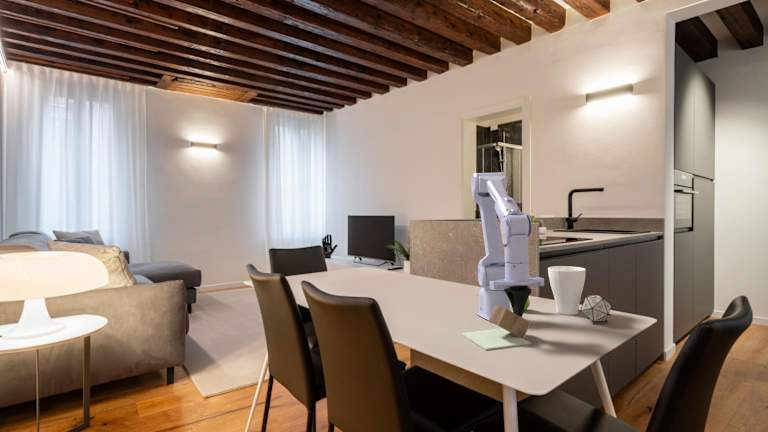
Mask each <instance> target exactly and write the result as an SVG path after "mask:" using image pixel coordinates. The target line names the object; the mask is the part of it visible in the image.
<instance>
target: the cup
mask: <svg viewBox="0 0 768 432" xmlns="http://www.w3.org/2000/svg"><path fill="white" fill-rule="evenodd" d="M586 270H587V269H586V268H584V267H579V266H570V265H555V266H549V267H547V273H548V278H549V283H550V288H551V290H552V294H553V297H554V298H553V299H554V303H555V309H556V312H557V313H558V314H561V315H566V316H567V315H568V316H576V315H578V314H579V312H578V310H580V303H581V297H582V293H583V290H584V285H585V281H586Z"/></svg>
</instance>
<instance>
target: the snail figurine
mask: <svg viewBox="0 0 768 432" xmlns="http://www.w3.org/2000/svg"><path fill="white" fill-rule="evenodd" d="M532 274H533V273H532V272H530V271H529V278H533V277H532ZM530 287H531V286H529V287H528V288H530ZM530 289H531V288H530ZM530 304H531V301H530V298H529V297H528V299H527V301H526V304H525V307H524V311H526V310H527V309H528V308H529V306H530Z"/></svg>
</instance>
